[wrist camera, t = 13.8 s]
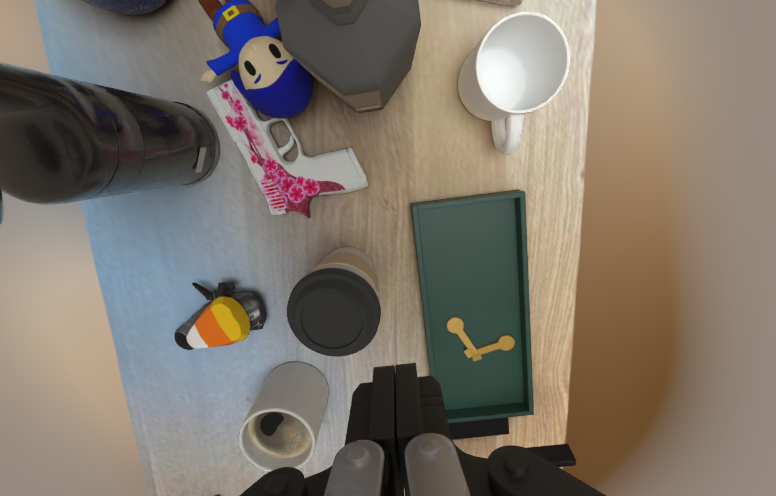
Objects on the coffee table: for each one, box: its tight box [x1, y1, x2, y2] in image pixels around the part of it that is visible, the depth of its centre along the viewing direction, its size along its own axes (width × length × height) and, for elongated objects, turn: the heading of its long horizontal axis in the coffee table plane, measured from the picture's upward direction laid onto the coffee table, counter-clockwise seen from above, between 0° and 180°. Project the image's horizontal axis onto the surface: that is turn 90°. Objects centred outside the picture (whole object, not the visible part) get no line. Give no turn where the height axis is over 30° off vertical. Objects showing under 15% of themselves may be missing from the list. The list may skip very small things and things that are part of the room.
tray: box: [411, 190, 534, 423], centre depth 49 cm, size 13×30×2 cm, turn 7°
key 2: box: [472, 334, 515, 361], centre depth 51 cm, size 2×6×1 cm, turn 112°
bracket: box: [448, 417, 509, 440], centre depth 44 cm, size 13×4×22 cm, turn 97°
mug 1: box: [239, 362, 329, 473], centre depth 49 cm, size 11×10×10 cm
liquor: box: [275, 0, 421, 113], centre depth 28 cm, size 9×9×30 cm
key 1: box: [447, 317, 478, 358], centre depth 50 cm, size 2×6×1 cm, turn 36°
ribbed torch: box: [175, 282, 266, 350], centre depth 49 cm, size 9×13×3 cm
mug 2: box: [458, 12, 570, 155], centre depth 39 cm, size 12×8×10 cm
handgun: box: [206, 80, 368, 219], centre depth 44 cm, size 3×17×12 cm
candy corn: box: [186, 297, 250, 348], centre depth 46 cm, size 6×3×8 cm
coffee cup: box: [287, 247, 381, 356], centre depth 42 cm, size 9×9×15 cm
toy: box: [198, 0, 313, 118], centre depth 39 cm, size 13×8×15 cm
